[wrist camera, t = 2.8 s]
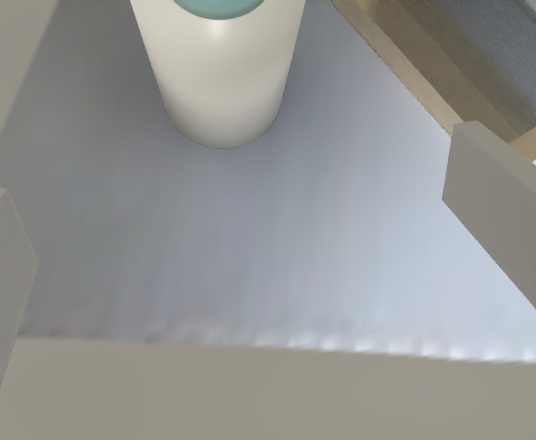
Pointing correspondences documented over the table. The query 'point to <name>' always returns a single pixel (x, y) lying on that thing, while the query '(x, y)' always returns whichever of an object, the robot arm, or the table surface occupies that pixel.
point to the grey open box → (460, 59)
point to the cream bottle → (220, 63)
